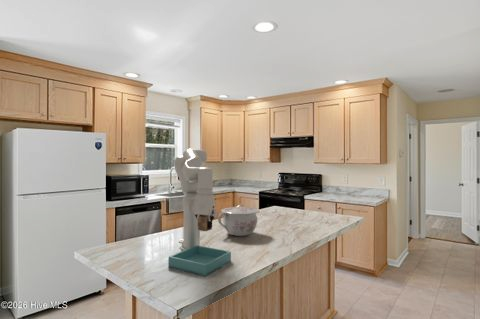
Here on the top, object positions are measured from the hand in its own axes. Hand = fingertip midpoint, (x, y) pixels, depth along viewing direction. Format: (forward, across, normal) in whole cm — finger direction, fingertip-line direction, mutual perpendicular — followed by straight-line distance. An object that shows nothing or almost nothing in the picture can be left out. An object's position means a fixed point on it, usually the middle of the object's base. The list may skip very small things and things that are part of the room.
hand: (204, 227), depth 145 cm
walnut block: (+1, 0, 0) cm, 1 cm away
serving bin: (+18, -1, -2) cm, 18 cm away
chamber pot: (+17, -11, +60) cm, 63 cm away
